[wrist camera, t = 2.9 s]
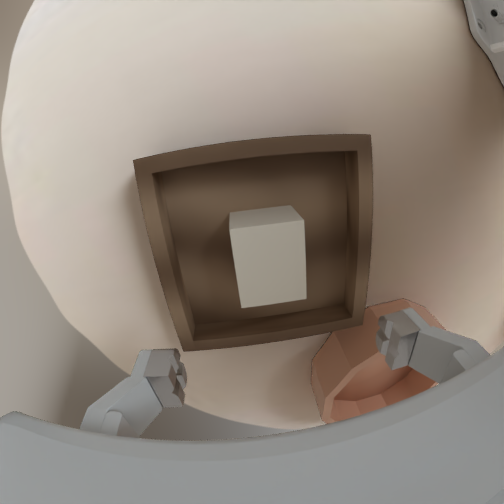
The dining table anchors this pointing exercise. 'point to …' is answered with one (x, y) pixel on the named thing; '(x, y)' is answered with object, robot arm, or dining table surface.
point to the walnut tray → (249, 198)
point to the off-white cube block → (269, 255)
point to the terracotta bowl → (363, 368)
